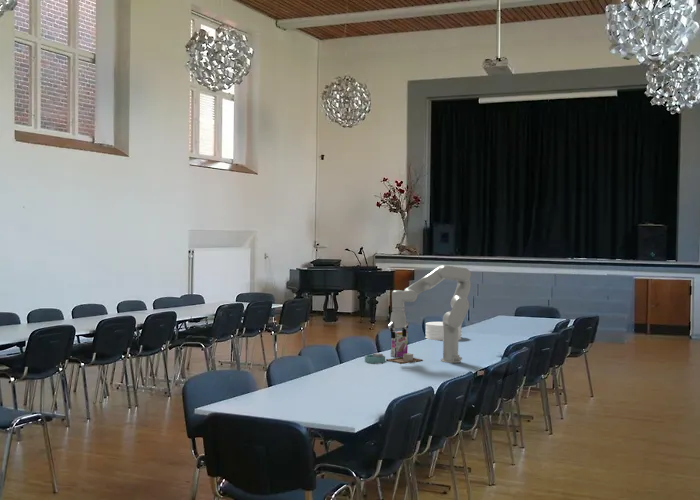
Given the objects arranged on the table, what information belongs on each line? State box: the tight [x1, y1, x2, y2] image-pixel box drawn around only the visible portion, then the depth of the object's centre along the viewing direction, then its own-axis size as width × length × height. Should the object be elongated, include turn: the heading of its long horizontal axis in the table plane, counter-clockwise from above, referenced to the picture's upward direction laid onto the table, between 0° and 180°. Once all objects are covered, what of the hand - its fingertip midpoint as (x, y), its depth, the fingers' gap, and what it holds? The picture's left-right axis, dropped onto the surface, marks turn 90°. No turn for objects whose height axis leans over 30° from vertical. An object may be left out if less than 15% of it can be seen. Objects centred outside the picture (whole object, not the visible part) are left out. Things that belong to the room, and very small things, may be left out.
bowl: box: [364, 354, 386, 364], centre depth 470 cm, size 12×12×4 cm
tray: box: [385, 356, 423, 364], centre depth 473 cm, size 14×18×1 cm
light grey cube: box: [372, 352, 384, 357], centre depth 468 cm, size 4×4×5 cm
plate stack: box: [424, 321, 463, 341], centre depth 587 cm, size 28×28×12 cm
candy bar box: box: [390, 330, 409, 358], centre depth 492 cm, size 11×5×16 cm, turn 130°
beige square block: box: [402, 352, 414, 362], centre depth 470 cm, size 4×4×5 cm
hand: (398, 337), depth 469 cm, fingers open, 9 cm apart
